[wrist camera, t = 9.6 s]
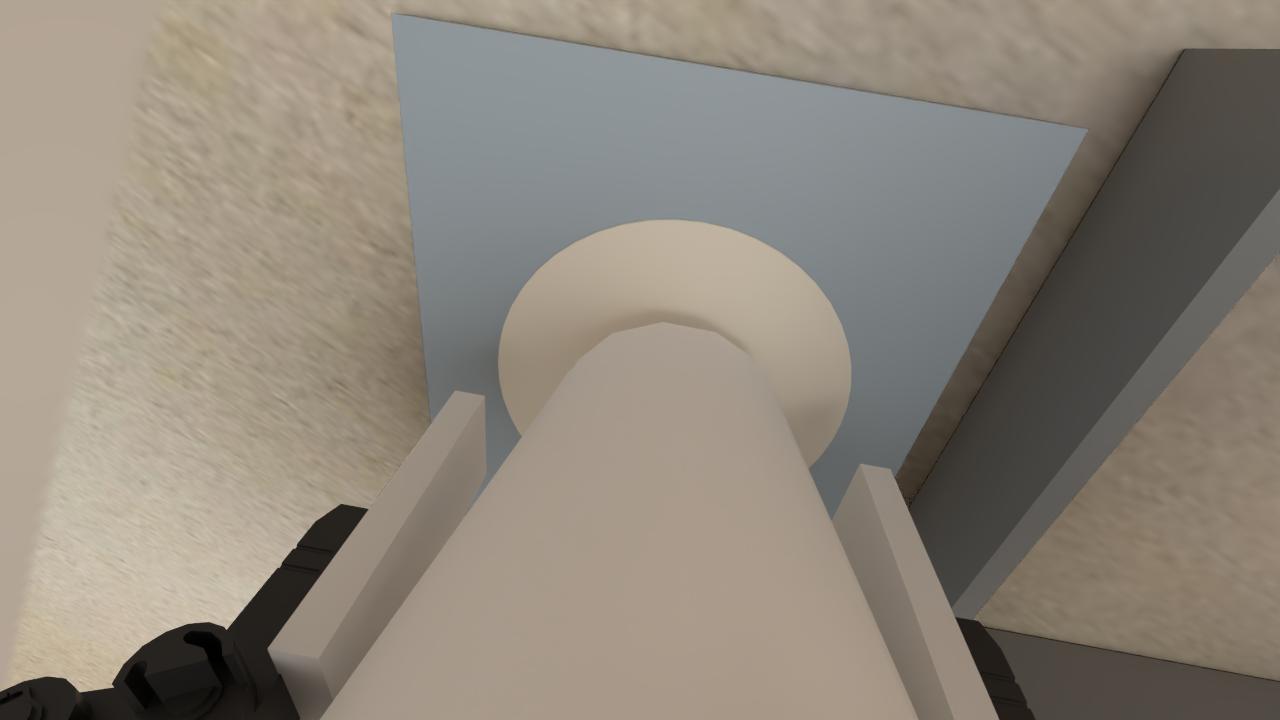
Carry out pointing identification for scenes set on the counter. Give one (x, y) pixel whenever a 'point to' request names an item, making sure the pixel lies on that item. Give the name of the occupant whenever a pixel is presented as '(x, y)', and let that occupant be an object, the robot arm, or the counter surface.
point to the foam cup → (640, 565)
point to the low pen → (1115, 375)
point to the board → (705, 228)
